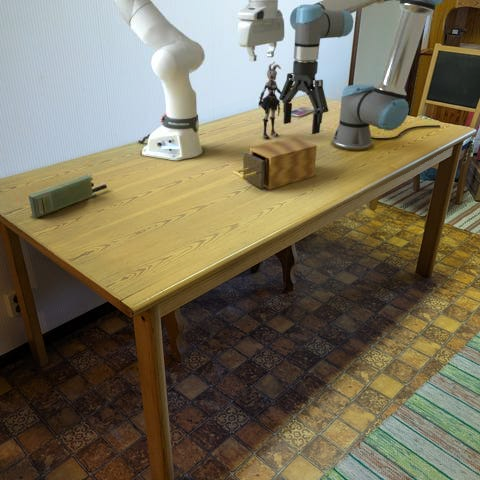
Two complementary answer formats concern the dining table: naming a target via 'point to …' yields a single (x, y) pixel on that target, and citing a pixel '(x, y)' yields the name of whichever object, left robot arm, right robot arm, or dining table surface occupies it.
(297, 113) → the smartphone
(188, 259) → the dining table surface
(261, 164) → the drawer
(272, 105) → the figurine
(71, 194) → the handheld radio
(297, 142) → the cabinet
